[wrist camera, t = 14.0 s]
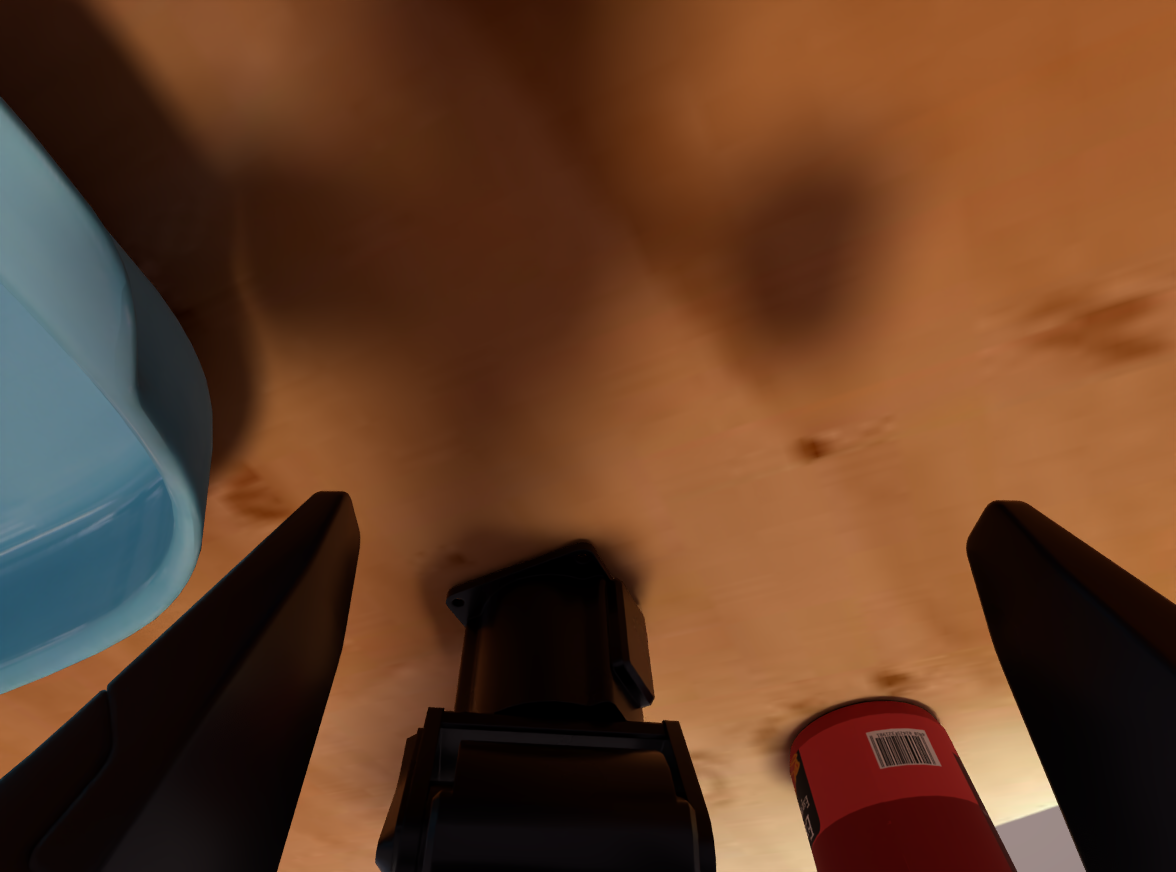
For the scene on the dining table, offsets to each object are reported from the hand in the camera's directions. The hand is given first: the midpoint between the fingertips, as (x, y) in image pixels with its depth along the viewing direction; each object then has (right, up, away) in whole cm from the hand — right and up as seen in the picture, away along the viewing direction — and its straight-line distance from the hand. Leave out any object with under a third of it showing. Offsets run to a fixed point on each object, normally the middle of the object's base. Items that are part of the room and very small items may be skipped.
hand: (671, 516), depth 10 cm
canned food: (+13, -14, +26) cm, 32 cm away
